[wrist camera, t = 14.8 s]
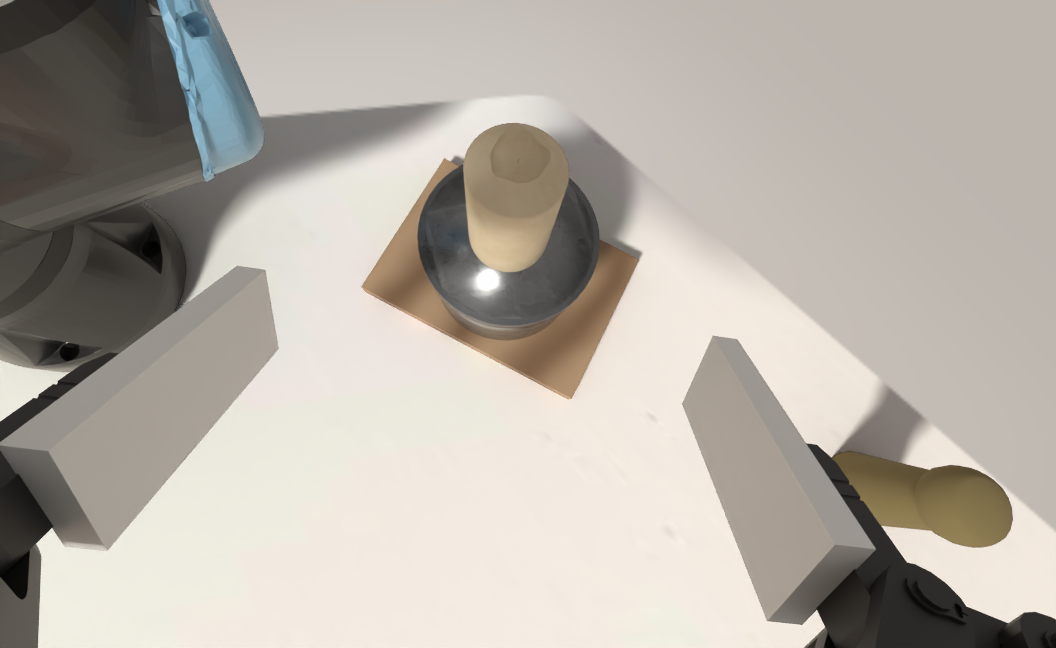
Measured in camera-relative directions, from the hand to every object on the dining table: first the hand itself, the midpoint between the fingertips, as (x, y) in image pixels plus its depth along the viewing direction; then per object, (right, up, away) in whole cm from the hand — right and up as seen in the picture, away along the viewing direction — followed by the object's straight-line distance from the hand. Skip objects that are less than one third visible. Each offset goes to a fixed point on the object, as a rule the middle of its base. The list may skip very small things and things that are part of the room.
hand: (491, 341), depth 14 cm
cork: (+30, -14, +26) cm, 42 cm away
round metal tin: (-1, +5, +26) cm, 26 cm away
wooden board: (-1, +5, +27) cm, 28 cm away
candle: (0, +7, +18) cm, 19 cm away
